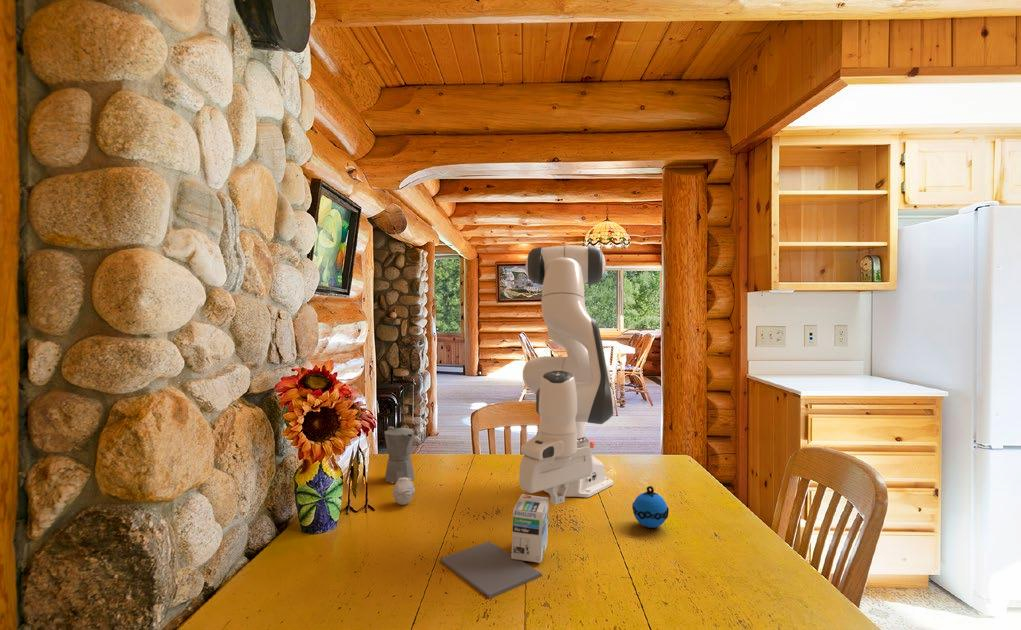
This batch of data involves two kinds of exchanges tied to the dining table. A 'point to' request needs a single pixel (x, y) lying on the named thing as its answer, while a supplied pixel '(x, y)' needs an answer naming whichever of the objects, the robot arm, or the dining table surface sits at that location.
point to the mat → (490, 569)
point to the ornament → (650, 509)
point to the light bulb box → (530, 528)
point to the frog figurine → (403, 490)
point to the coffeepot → (398, 452)
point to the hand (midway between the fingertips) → (557, 502)
